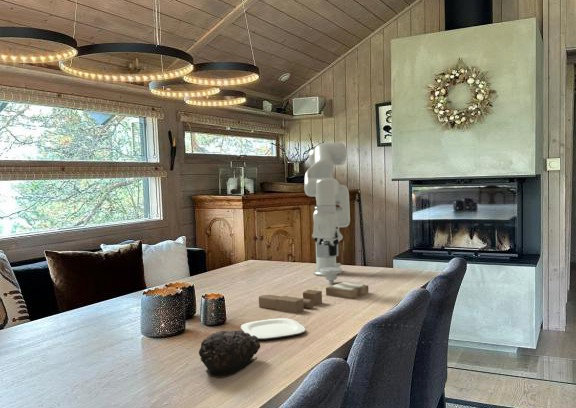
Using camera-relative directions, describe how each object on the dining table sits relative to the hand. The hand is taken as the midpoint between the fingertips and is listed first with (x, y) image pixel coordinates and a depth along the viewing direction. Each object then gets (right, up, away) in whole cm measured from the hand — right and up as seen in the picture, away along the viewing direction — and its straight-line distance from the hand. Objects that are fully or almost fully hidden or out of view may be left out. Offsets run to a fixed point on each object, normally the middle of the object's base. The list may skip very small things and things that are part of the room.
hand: (327, 254), depth 205 cm
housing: (0, -1, 0) cm, 1 cm away
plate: (-20, -19, -47) cm, 55 cm away
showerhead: (+3, -15, +19) cm, 24 cm away
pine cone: (-30, -21, -76) cm, 84 cm away
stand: (+8, -15, -2) cm, 17 cm away
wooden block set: (-14, -18, -16) cm, 28 cm away
